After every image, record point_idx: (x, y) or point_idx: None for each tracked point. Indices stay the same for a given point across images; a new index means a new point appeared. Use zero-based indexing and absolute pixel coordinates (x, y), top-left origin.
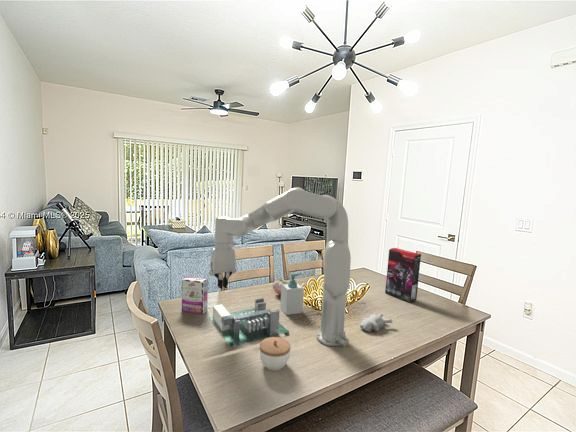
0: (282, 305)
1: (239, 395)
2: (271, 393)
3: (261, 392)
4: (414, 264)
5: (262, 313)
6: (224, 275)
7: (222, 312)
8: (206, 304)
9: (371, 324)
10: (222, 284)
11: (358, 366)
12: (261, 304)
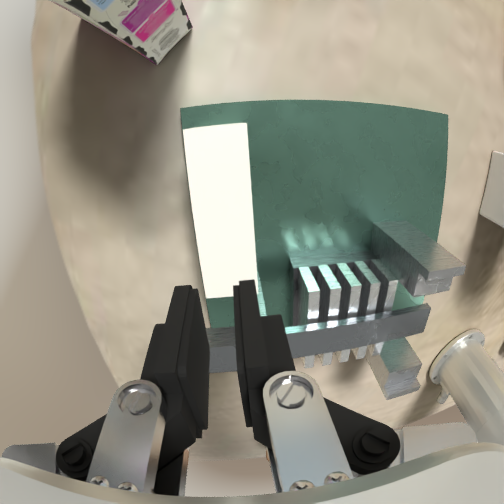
0: (501, 177)
1: (202, 442)
2: (253, 448)
3: (239, 445)
4: None
5: (385, 340)
6: (265, 408)
7: (219, 246)
8: (176, 22)
9: None
10: (207, 386)
11: (410, 419)
12: (427, 292)
